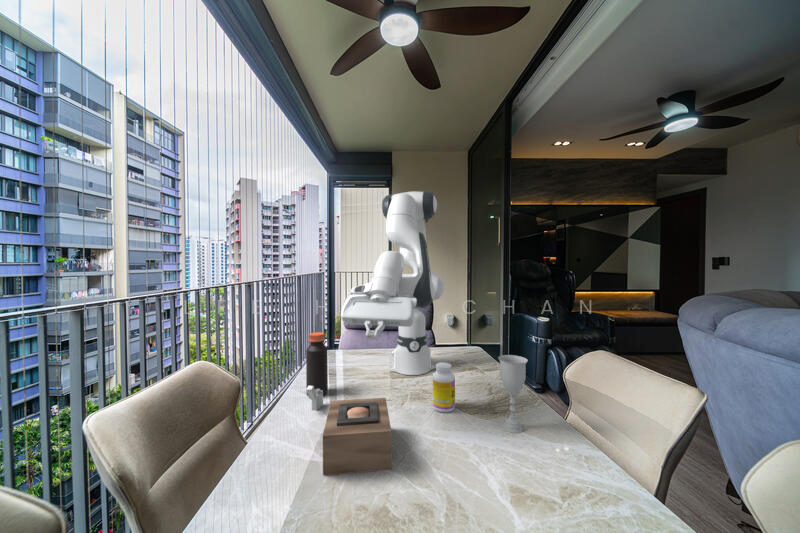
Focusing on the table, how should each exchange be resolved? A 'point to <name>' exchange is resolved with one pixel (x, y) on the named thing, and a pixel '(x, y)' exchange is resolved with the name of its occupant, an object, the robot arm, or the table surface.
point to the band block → (357, 438)
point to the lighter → (315, 397)
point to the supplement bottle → (443, 388)
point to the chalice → (512, 386)
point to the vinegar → (317, 363)
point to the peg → (358, 412)
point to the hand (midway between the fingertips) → (371, 337)
